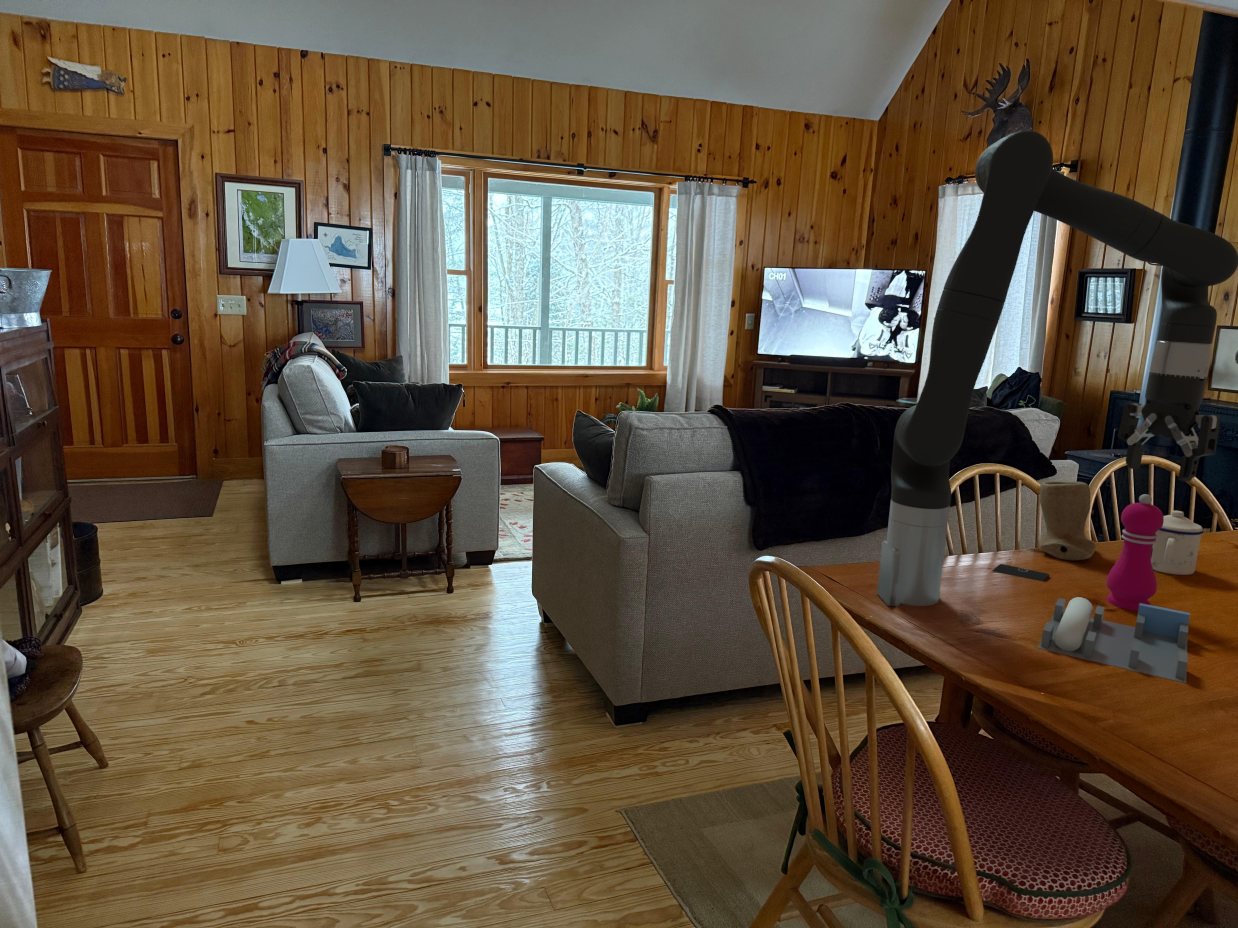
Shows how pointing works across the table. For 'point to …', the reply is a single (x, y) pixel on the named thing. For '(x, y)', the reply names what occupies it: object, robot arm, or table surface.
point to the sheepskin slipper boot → (1066, 519)
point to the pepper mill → (1135, 556)
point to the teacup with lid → (1176, 545)
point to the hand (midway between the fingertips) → (1158, 474)
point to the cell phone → (1021, 572)
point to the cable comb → (1131, 641)
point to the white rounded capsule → (1073, 624)
